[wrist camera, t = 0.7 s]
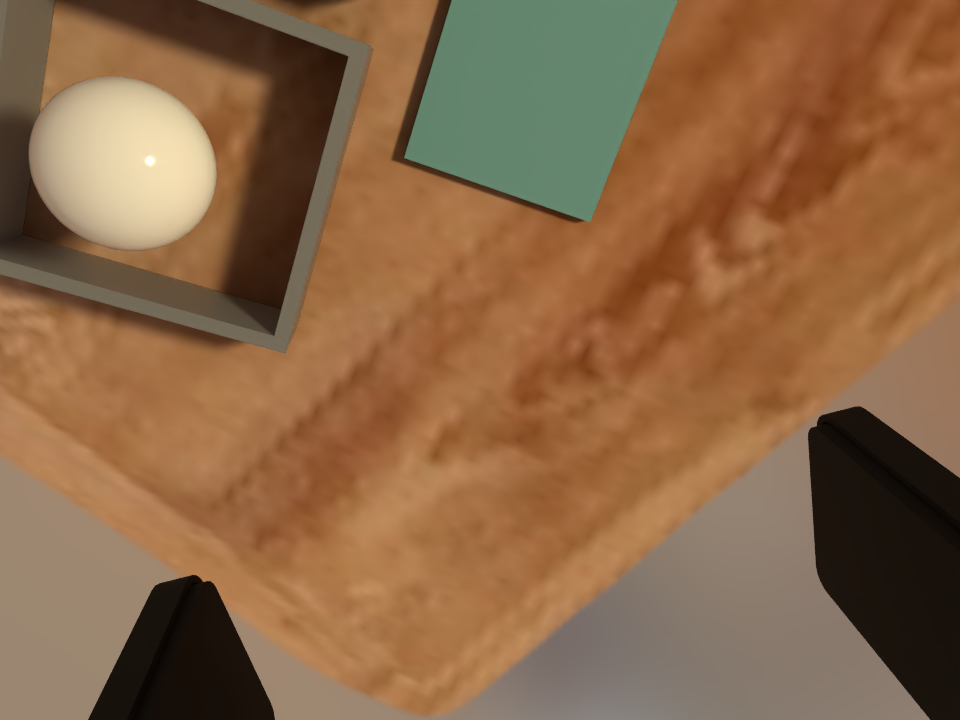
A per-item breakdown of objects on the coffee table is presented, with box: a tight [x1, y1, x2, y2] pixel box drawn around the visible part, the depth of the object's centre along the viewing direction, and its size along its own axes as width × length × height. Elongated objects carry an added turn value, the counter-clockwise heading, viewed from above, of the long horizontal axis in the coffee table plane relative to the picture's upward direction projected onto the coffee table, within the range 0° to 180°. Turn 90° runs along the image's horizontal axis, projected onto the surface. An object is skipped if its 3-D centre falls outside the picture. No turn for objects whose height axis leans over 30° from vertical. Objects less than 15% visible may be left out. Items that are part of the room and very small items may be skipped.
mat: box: [404, 0, 678, 222], centre depth 34 cm, size 12×10×1 cm
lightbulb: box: [28, 76, 217, 251], centre depth 29 cm, size 6×6×11 cm
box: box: [0, 0, 373, 353], centre depth 33 cm, size 14×14×4 cm
